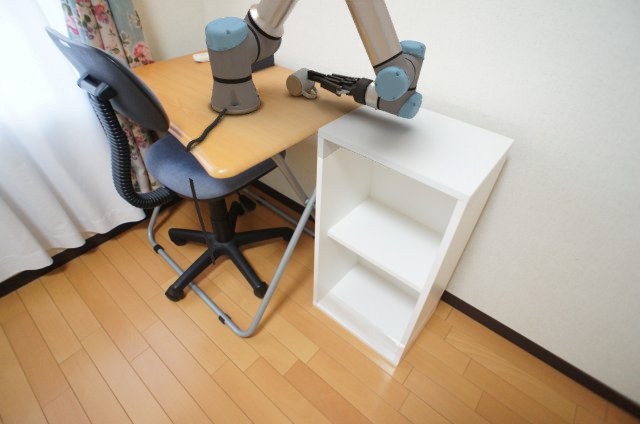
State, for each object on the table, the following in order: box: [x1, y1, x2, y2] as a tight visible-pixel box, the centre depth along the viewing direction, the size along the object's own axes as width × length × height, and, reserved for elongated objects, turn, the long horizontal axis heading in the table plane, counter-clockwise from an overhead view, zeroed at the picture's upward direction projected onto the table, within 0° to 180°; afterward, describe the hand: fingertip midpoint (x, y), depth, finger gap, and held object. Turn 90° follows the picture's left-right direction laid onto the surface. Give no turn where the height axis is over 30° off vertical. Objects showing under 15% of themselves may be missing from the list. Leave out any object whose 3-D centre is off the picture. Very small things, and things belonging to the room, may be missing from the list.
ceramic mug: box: [285, 67, 319, 99], centre depth 106 cm, size 11×8×8 cm
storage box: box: [251, 53, 275, 74], centre depth 126 cm, size 13×13×11 cm
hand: (308, 74), depth 103 cm, fingers closed
